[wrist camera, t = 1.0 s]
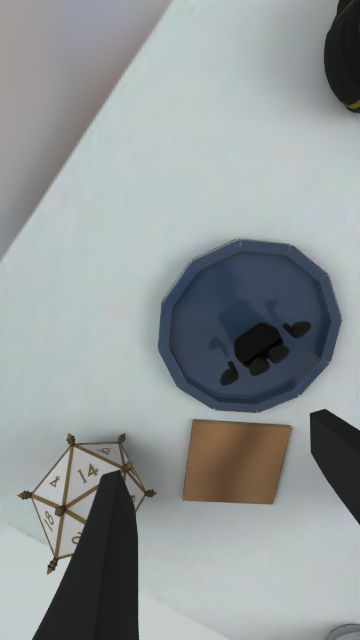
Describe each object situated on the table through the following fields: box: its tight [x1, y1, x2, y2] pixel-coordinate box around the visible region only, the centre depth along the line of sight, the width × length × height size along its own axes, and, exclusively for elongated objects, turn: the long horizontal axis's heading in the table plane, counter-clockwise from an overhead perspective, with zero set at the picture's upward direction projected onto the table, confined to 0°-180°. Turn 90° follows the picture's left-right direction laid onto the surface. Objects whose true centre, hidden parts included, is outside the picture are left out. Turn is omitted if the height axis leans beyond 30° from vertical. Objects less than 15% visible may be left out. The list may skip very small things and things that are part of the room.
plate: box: [158, 239, 342, 413], centre depth 23 cm, size 13×13×1 cm
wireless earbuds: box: [220, 321, 312, 386], centre depth 21 cm, size 7×2×5 cm, turn 127°
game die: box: [17, 433, 156, 574], centre depth 23 cm, size 9×8×10 cm
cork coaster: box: [183, 420, 291, 504], centre depth 27 cm, size 8×8×1 cm
